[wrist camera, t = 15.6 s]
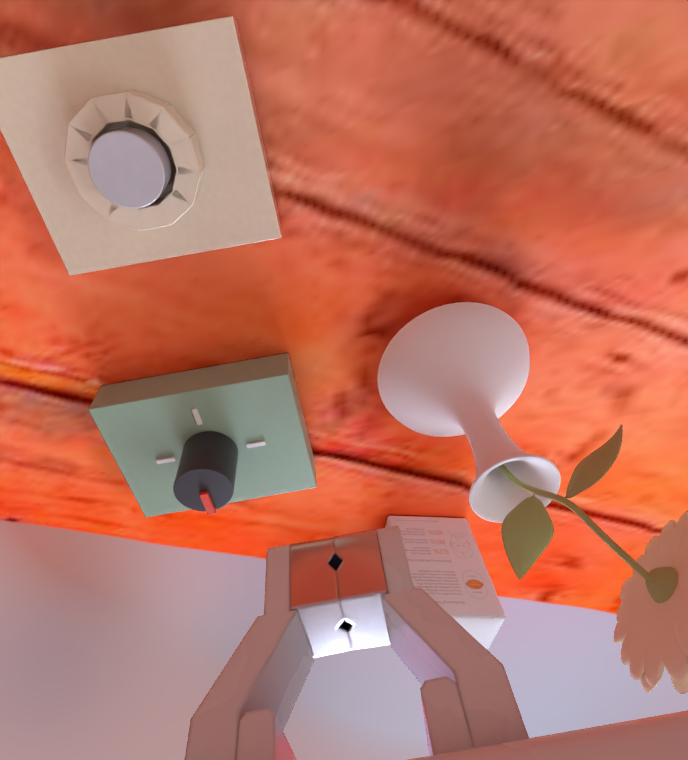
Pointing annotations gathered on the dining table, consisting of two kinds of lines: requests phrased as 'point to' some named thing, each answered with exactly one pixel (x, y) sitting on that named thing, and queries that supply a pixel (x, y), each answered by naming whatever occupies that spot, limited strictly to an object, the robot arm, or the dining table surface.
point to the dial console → (208, 428)
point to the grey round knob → (129, 167)
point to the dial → (206, 472)
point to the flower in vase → (530, 469)
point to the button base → (160, 119)
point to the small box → (452, 572)
